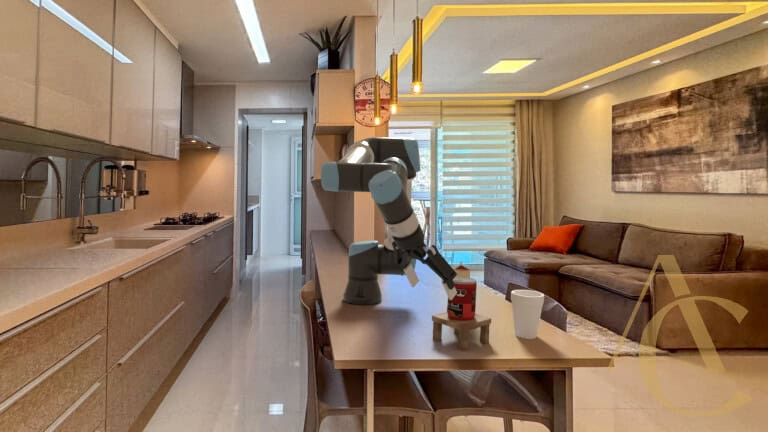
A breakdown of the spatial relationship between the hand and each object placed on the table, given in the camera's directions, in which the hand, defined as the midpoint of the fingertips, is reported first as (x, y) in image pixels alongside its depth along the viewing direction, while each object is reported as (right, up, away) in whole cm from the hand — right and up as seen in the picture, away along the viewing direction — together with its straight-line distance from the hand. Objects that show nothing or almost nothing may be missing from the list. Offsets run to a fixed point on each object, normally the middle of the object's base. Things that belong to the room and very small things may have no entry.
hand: (433, 289), depth 113 cm
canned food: (+9, -9, +7) cm, 15 cm away
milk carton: (+13, -15, +30) cm, 36 cm away
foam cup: (+30, -17, +13) cm, 36 cm away
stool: (+9, -16, +7) cm, 20 cm away
